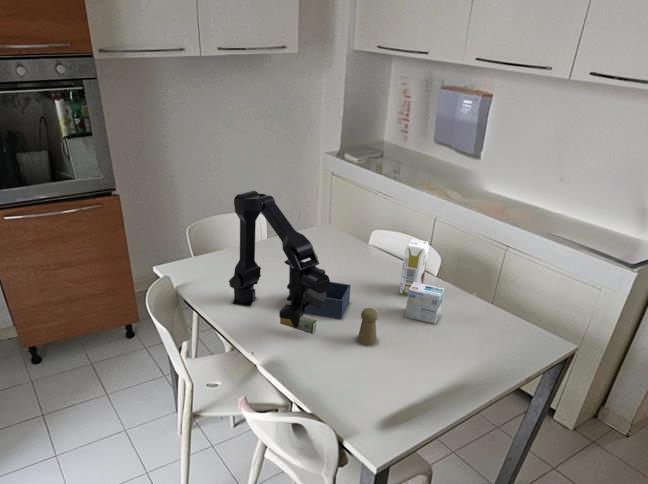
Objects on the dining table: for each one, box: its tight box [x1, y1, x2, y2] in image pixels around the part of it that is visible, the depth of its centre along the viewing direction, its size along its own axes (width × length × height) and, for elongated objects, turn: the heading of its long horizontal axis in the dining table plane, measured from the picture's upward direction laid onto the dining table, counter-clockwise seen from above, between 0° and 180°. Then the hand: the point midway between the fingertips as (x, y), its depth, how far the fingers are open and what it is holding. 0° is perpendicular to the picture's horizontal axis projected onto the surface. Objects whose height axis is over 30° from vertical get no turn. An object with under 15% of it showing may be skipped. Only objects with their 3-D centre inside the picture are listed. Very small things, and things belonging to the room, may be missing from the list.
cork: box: [357, 307, 379, 347], centre depth 162 cm, size 6×6×11 cm
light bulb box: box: [404, 282, 445, 325], centre depth 176 cm, size 11×7×11 cm, turn 65°
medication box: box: [279, 315, 318, 335], centre depth 166 cm, size 12×3×4 cm, turn 62°
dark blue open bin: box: [304, 281, 352, 320], centre depth 181 cm, size 17×12×7 cm
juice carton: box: [399, 238, 430, 296], centre depth 189 cm, size 8×9×19 cm
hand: (297, 324), depth 166 cm, fingers closed on medication box, 3 cm apart
